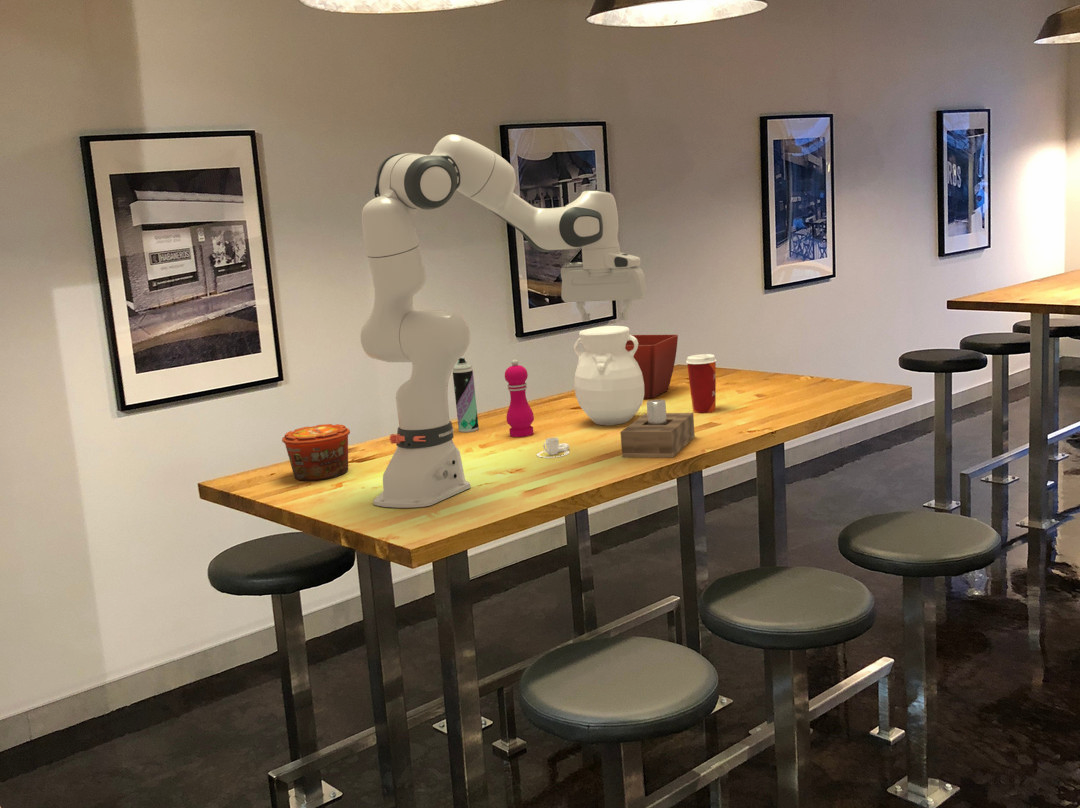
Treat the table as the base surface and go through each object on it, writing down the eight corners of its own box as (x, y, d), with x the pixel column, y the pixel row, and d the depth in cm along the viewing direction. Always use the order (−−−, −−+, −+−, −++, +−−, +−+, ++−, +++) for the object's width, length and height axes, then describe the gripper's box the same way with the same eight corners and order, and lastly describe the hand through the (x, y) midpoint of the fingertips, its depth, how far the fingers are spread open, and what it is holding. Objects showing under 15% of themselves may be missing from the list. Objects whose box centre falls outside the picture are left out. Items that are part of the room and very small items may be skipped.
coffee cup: (725, 410, 284) (722, 355, 281) (698, 415, 281) (695, 359, 278) (709, 406, 292) (706, 352, 289) (683, 410, 289) (679, 356, 286)
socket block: (672, 457, 239) (671, 432, 238) (622, 457, 244) (620, 431, 243) (694, 436, 257) (693, 412, 256) (647, 436, 262) (645, 413, 261)
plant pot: (657, 402, 304) (653, 344, 301) (598, 401, 314) (593, 344, 310) (682, 389, 320) (679, 334, 317) (625, 388, 330) (621, 335, 326)
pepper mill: (532, 437, 273) (525, 360, 269) (505, 438, 275) (497, 362, 271) (537, 430, 280) (531, 356, 276) (511, 432, 282) (504, 358, 278)
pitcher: (569, 430, 277) (561, 336, 273) (587, 415, 295) (579, 326, 290) (639, 428, 272) (632, 332, 267) (652, 413, 289) (646, 322, 284)
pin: (665, 445, 248) (662, 403, 246) (647, 444, 249) (644, 403, 247) (670, 440, 252) (667, 399, 250) (652, 440, 253) (649, 399, 251)
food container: (274, 478, 254) (268, 435, 252) (328, 462, 265) (323, 421, 263) (313, 486, 243) (307, 441, 241) (368, 469, 255) (362, 426, 253)
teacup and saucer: (565, 449, 259) (563, 433, 258) (577, 455, 251) (576, 438, 251) (531, 455, 256) (530, 438, 255) (543, 461, 248) (542, 444, 248)
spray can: (455, 432, 288) (447, 359, 284) (465, 427, 293) (458, 356, 289) (472, 432, 285) (464, 359, 282) (482, 428, 290) (475, 356, 286)
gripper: (555, 264, 247) (559, 322, 249) (638, 259, 239) (641, 320, 241) (565, 262, 253) (569, 320, 255) (647, 257, 244) (650, 317, 247)
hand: (605, 320), depth 248 cm, fingers open, 8 cm apart
